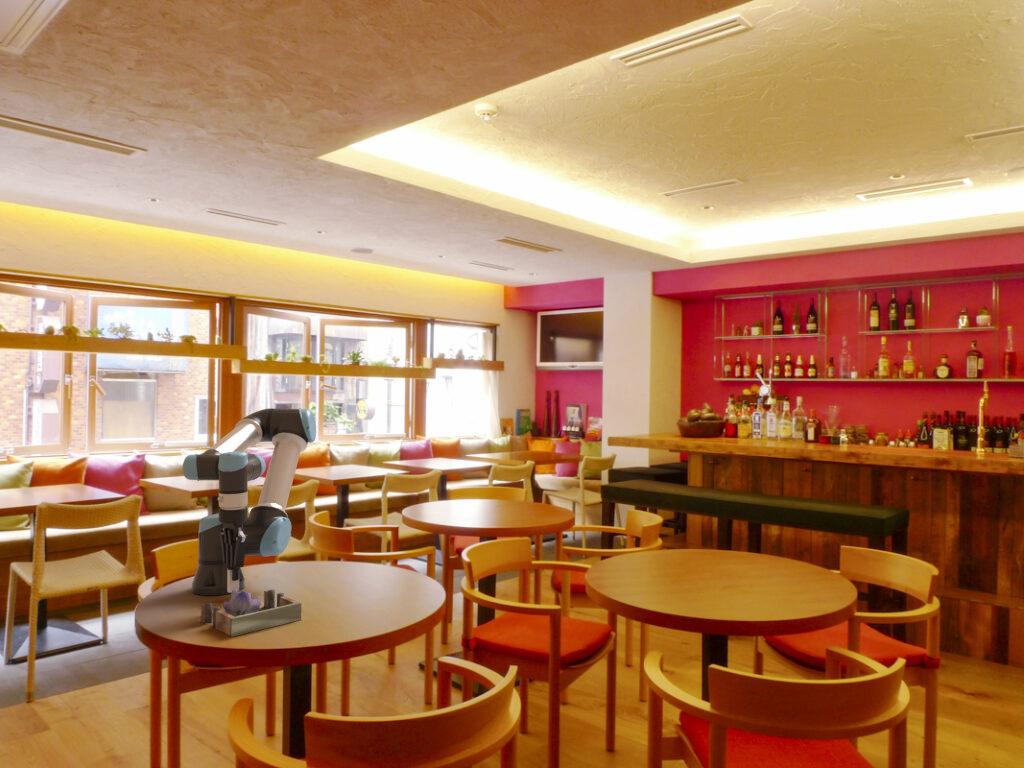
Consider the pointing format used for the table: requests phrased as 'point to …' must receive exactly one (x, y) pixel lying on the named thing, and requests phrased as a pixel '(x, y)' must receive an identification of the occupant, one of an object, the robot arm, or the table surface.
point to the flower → (241, 604)
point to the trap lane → (254, 615)
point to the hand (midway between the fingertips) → (233, 591)
